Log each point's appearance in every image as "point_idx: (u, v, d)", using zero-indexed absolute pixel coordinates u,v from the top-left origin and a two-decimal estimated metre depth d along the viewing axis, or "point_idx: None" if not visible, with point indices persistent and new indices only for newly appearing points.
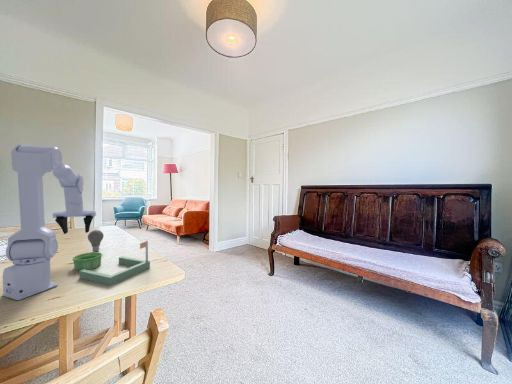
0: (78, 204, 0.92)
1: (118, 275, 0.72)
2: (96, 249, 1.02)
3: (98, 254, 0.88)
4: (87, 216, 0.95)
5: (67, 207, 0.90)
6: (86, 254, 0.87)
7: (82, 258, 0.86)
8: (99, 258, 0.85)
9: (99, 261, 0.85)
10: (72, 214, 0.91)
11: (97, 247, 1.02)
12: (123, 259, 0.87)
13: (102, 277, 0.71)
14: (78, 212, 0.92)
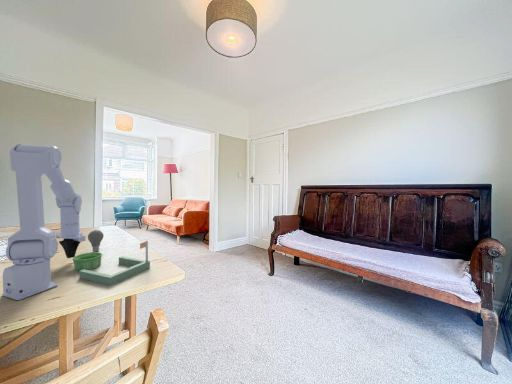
0: (68, 226, 0.85)
1: (118, 275, 0.72)
2: (96, 249, 1.02)
3: (98, 254, 0.88)
4: (69, 239, 0.86)
5: None
6: (86, 254, 0.87)
7: (82, 258, 0.86)
8: (99, 258, 0.85)
9: (99, 261, 0.85)
10: (61, 236, 0.84)
11: (97, 247, 1.02)
12: (123, 259, 0.87)
13: (102, 277, 0.71)
14: (67, 235, 0.85)
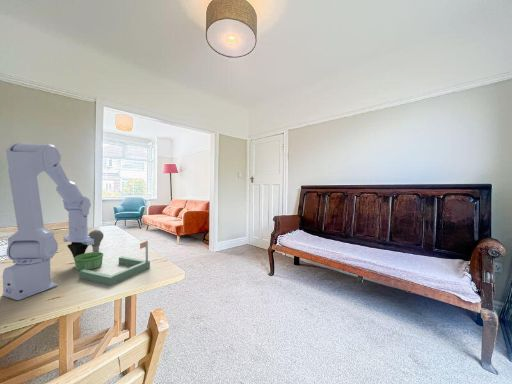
0: (76, 229, 0.83)
1: (118, 275, 0.72)
2: (96, 249, 1.02)
3: (99, 254, 0.88)
4: (77, 243, 0.85)
5: None
6: (87, 253, 0.87)
7: (83, 258, 0.86)
8: (100, 258, 0.84)
9: (100, 261, 0.85)
10: (70, 240, 0.83)
11: (97, 247, 1.02)
12: (123, 259, 0.87)
13: (102, 277, 0.71)
14: (75, 238, 0.83)
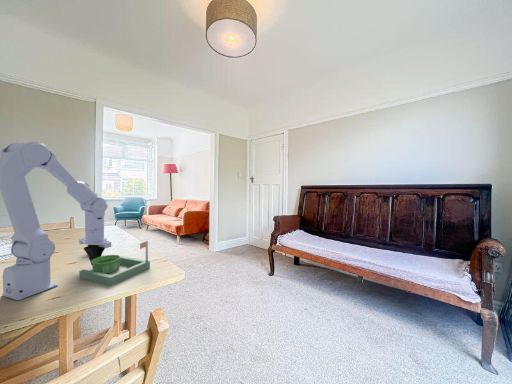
0: (93, 231, 0.80)
1: (118, 275, 0.72)
2: None
3: (116, 257, 0.85)
4: (94, 246, 0.82)
5: (85, 234, 0.81)
6: (104, 256, 0.84)
7: (100, 261, 0.83)
8: (118, 261, 0.81)
9: (118, 264, 0.82)
10: (86, 242, 0.80)
11: None
12: (123, 259, 0.87)
13: (102, 277, 0.71)
14: (92, 241, 0.80)
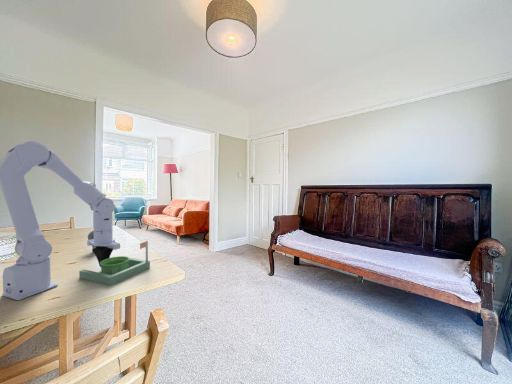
0: (102, 232, 0.79)
1: (118, 275, 0.72)
2: None
3: (125, 258, 0.83)
4: (103, 247, 0.80)
5: None
6: (113, 258, 0.82)
7: (108, 263, 0.81)
8: (127, 263, 0.80)
9: (127, 266, 0.80)
10: (95, 244, 0.78)
11: None
12: None
13: (102, 277, 0.71)
14: (101, 242, 0.79)
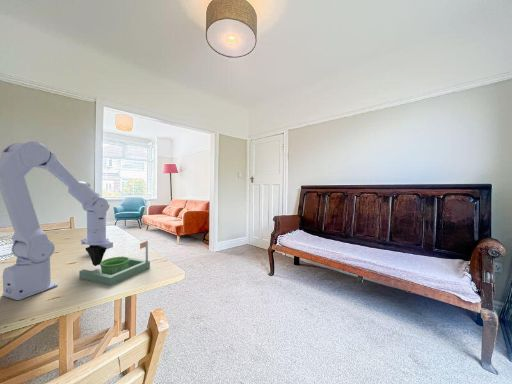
0: (95, 232, 0.80)
1: (118, 275, 0.72)
2: None
3: (125, 259, 0.83)
4: (96, 246, 0.81)
5: (87, 234, 0.81)
6: (113, 258, 0.82)
7: (108, 263, 0.81)
8: (127, 263, 0.80)
9: (127, 266, 0.80)
10: (88, 243, 0.80)
11: None
12: None
13: (102, 277, 0.71)
14: (94, 241, 0.80)
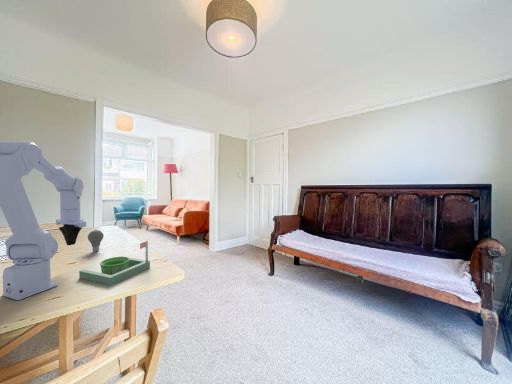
0: (68, 211, 0.80)
1: (118, 275, 0.72)
2: (96, 249, 1.02)
3: (125, 259, 0.83)
4: (70, 225, 0.82)
5: (60, 213, 0.81)
6: (113, 258, 0.82)
7: (108, 263, 0.81)
8: (127, 263, 0.80)
9: (127, 266, 0.80)
10: (61, 222, 0.80)
11: (97, 247, 1.02)
12: None
13: (102, 277, 0.71)
14: (67, 220, 0.80)
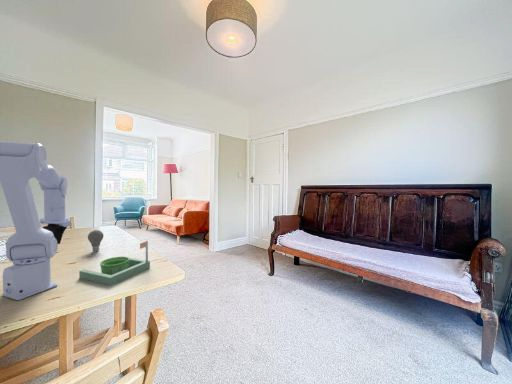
0: (52, 210, 0.78)
1: (118, 275, 0.72)
2: (96, 249, 1.02)
3: (125, 259, 0.83)
4: (54, 225, 0.80)
5: None
6: (112, 258, 0.82)
7: (108, 263, 0.81)
8: (127, 263, 0.80)
9: (127, 266, 0.80)
10: (45, 221, 0.78)
11: (97, 247, 1.02)
12: None
13: (102, 277, 0.71)
14: (51, 219, 0.78)
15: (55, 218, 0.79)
